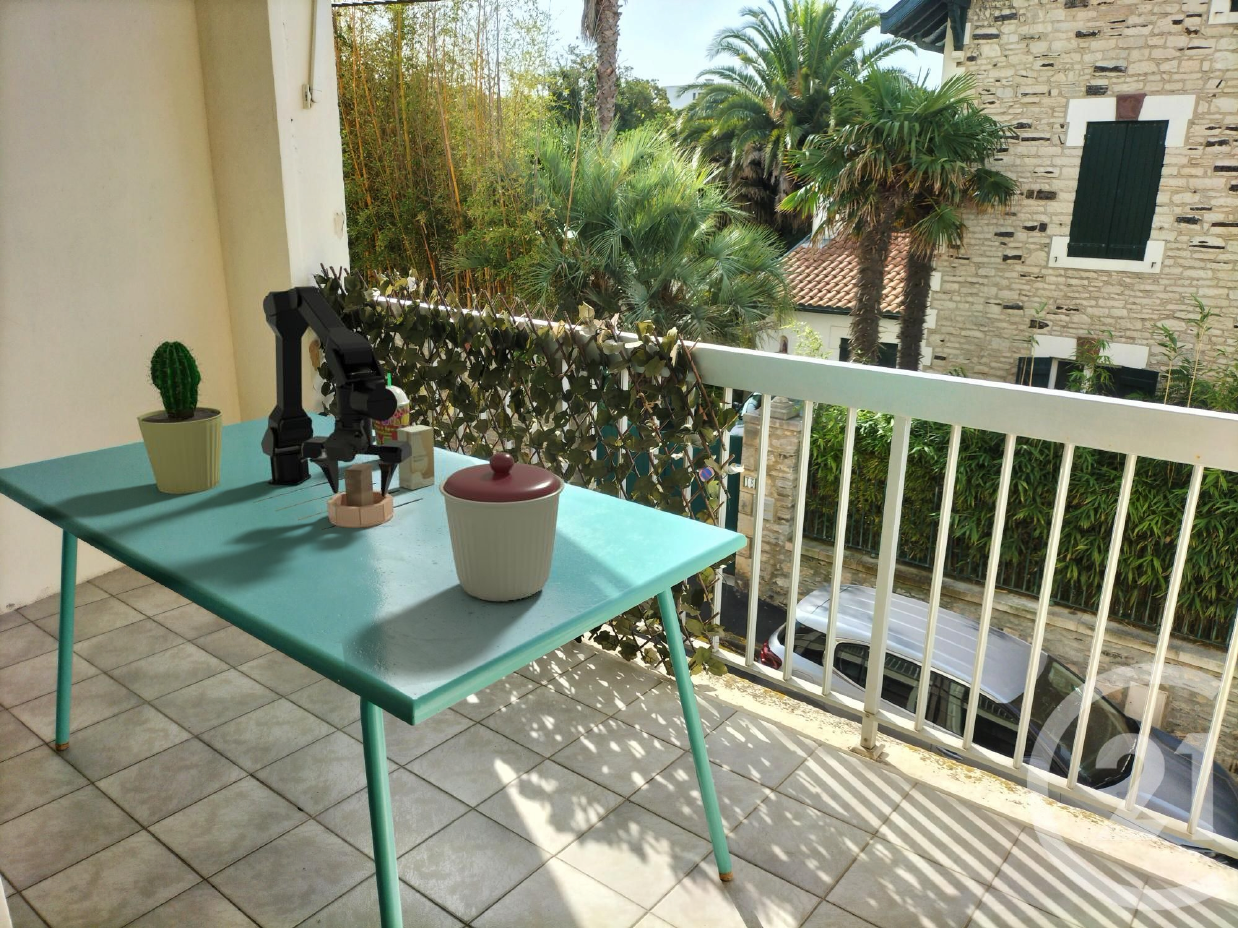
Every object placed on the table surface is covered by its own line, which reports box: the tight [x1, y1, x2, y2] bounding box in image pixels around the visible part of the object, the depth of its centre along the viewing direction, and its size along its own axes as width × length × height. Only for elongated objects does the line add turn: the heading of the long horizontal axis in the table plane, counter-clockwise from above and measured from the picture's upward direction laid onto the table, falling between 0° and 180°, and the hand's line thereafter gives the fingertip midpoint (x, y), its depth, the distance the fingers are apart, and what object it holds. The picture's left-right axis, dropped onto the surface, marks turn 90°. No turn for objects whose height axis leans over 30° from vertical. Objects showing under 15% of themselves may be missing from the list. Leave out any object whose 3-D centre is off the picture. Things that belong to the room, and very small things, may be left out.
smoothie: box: [373, 372, 411, 463], centre depth 193 cm, size 8×8×20 cm
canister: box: [438, 451, 565, 602], centre depth 127 cm, size 18×18×21 cm
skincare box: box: [397, 424, 435, 491], centre depth 177 cm, size 6×4×12 cm
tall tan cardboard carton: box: [343, 462, 374, 507], centre depth 157 cm, size 3×5×9 cm, turn 173°
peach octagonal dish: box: [326, 489, 395, 529], centre depth 158 cm, size 11×11×4 cm
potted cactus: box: [136, 340, 224, 495], centre depth 171 cm, size 15×15×30 cm
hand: (359, 494), depth 157 cm, fingers open, 9 cm apart
